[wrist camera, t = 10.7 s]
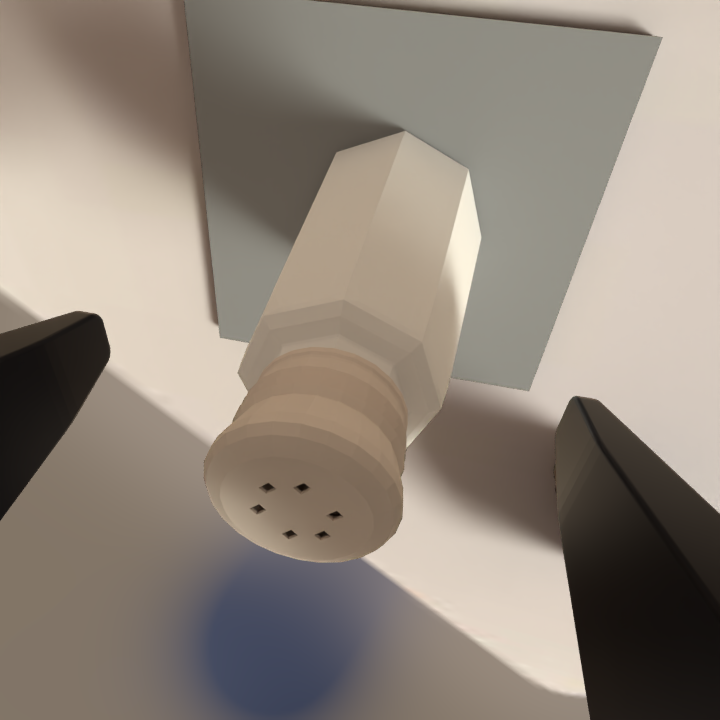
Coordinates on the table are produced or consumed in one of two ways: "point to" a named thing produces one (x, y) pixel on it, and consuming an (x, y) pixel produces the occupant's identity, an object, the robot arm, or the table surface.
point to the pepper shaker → (350, 355)
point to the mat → (424, 121)
